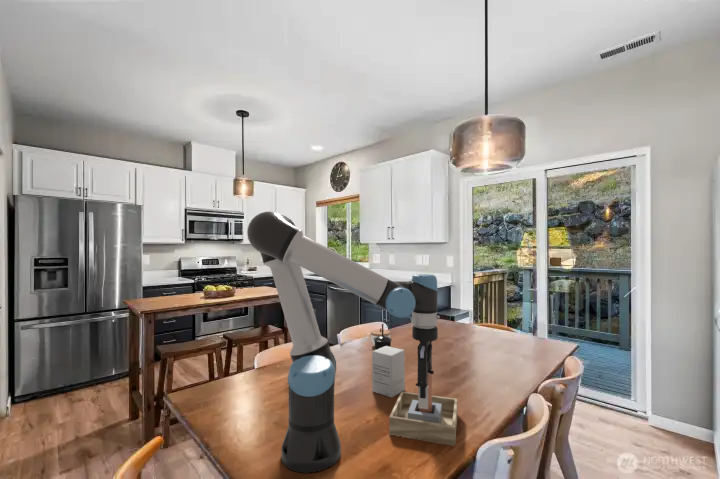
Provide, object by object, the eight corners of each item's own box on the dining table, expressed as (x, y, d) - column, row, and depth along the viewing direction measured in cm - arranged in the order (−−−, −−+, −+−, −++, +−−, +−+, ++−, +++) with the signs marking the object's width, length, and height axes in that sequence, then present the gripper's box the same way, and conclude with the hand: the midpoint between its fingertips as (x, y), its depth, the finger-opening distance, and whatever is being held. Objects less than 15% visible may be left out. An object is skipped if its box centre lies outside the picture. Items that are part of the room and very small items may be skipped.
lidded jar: (367, 344, 187) (367, 327, 188) (386, 342, 191) (386, 325, 191) (374, 350, 177) (374, 331, 177) (393, 348, 180) (393, 330, 181)
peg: (431, 425, 101) (431, 377, 101) (417, 423, 102) (417, 376, 102) (432, 419, 105) (432, 373, 105) (419, 417, 106) (419, 371, 106)
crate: (455, 446, 92) (454, 427, 92) (389, 434, 98) (389, 417, 98) (457, 414, 109) (457, 398, 109) (401, 406, 115) (401, 391, 115)
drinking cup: (370, 372, 146) (370, 324, 146) (378, 366, 153) (378, 321, 153) (387, 375, 142) (387, 326, 143) (394, 369, 149) (394, 323, 150)
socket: (439, 431, 98) (439, 417, 98) (407, 426, 100) (407, 412, 101) (441, 416, 106) (441, 403, 106) (412, 412, 109) (412, 399, 109)
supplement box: (385, 383, 134) (385, 345, 134) (405, 390, 128) (405, 349, 128) (371, 391, 127) (371, 350, 127) (391, 398, 121) (391, 355, 121)
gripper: (433, 335, 93) (434, 420, 92) (440, 319, 113) (440, 389, 112) (406, 333, 95) (406, 416, 95) (417, 318, 115) (417, 386, 115)
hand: (425, 401), depth 103 cm, fingers open, 8 cm apart
